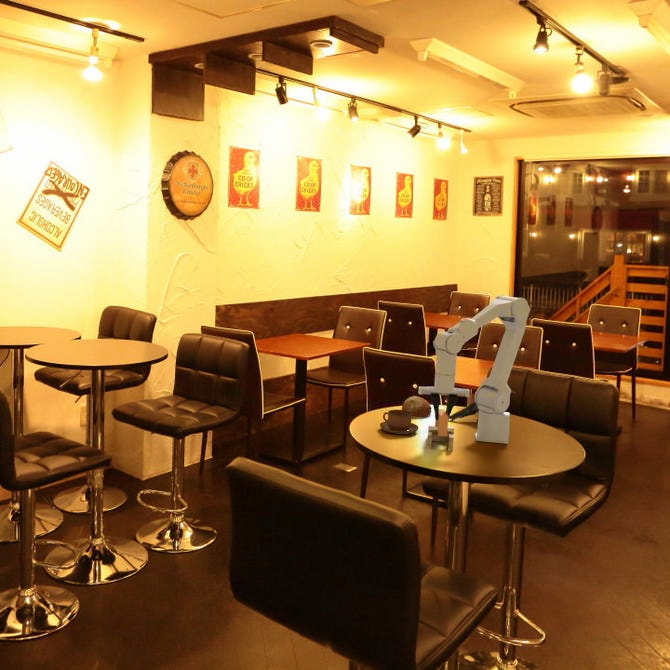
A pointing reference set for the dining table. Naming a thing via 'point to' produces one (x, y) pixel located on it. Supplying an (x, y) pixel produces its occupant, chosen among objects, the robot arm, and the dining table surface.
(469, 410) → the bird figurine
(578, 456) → the dining table surface
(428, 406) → the bread roll
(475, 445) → the dining table surface
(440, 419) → the orange long block
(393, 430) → the cup and saucer
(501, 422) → the robot arm
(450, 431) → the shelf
